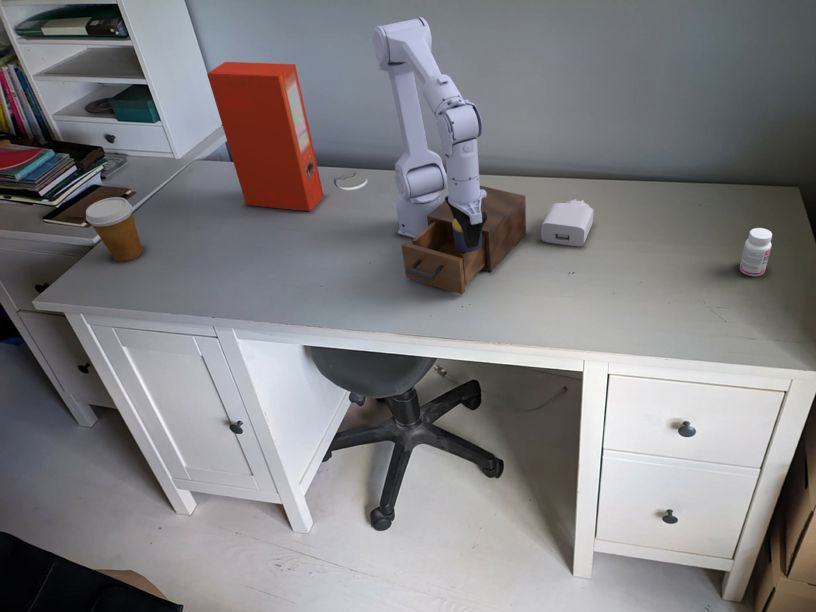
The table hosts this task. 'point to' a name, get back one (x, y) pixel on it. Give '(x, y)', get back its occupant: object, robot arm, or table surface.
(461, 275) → the drawer
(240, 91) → the file binder
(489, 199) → the cabinet
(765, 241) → the pill bottle
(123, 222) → the disposable coffee cup
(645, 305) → the table surface
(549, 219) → the charger
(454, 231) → the tin
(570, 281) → the table surface
